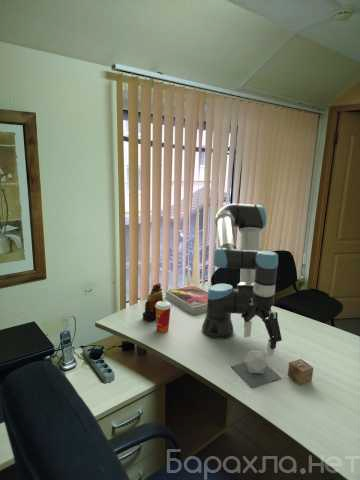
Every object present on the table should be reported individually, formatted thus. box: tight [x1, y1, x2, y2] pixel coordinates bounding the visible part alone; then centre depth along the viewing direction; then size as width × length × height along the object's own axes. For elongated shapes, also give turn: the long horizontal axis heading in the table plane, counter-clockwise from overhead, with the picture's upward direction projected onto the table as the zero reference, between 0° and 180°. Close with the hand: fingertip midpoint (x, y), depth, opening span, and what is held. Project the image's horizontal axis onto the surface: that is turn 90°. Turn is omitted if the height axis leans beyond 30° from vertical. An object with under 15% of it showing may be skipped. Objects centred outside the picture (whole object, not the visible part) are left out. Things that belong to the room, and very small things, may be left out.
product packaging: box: [165, 284, 208, 316], centre depth 179 cm, size 22×28×5 cm
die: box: [244, 350, 270, 374], centre depth 114 cm, size 8×9×10 cm
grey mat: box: [230, 361, 282, 389], centre depth 115 cm, size 13×14×1 cm
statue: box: [142, 282, 164, 323], centre depth 154 cm, size 12×8×20 cm, turn 129°
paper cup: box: [155, 300, 172, 334], centre depth 143 cm, size 8×8×14 cm
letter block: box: [287, 358, 314, 387], centre depth 112 cm, size 6×6×6 cm
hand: (258, 345), depth 113 cm, fingers open, 13 cm apart
